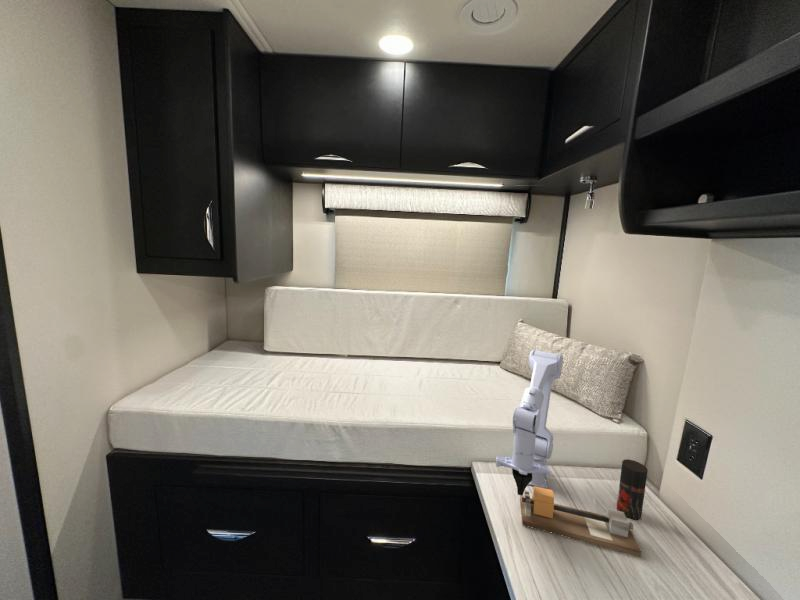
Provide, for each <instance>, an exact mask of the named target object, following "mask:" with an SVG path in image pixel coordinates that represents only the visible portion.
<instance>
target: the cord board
mask: <svg viewBox="0 0 800 600" xmlns="http://www.w3.org/2000/svg"><path fill="white" fill-rule="evenodd" d="M519 502H520V503H519V505H520V513H521V514H520V515H522V516H521V523H522V524H523V525H525V526H524V527H527V526H529V527H528V528H531V527H533V528H532V529H534V528H536V529H535V530H538V529H540V530H539V531H542V530H545V531H544V532H546V531H547V532H546V533H549V532H552V533H551V534H553V533H555V534H554V535H557V534H559V535H558V536H561V535H563V536H562V537H565V536H566V537H565V538H568V537H570V538H569V539H572V538H574V539H573V540H576V539H577V540H576V541H580V540H582V541H581V542H583V541H585V542H584V543H587V542H588V544H592V545H596V546H599V547H602V548H606V549H611V550H614V551H618V552H620V553H621V552H622V553H626V554H630V555H632V556H637V557H642V549H641V548H640V545H639V544H638V542H637V540H636V538H635V536H634V534H633V533H632V530H634V524H633V522H631V521H629V519H628V518H626V516H625V514H624V512H621V511H618V510H617V509H612V508H607V507H606V512H605V515H603V514H599V513H596V512H591V511H587V510H584V509H583V510H582V509H579V508H575V507H571V506H567V505H562V504H557V503H554V510H553V518H549V517H545V516H541V515H537V514H533V507H532V504H533V505H534V500H532V497H531V495H530V491H529V490H526V489H525V490H524V493H523V496H522V495H519ZM523 525H522V526H523Z"/></svg>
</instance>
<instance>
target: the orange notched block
mask: <svg viewBox="0 0 800 600" xmlns="http://www.w3.org/2000/svg"><path fill="white" fill-rule="evenodd" d="M532 490H533V491H532V497H531V498H532V500H534V505H533V504H532V507H533V514H537V515H541V516H545V517H549V518H553V510H554V504H555V495H554V491H553V489H549V488H542V487H537V486H533V489H532Z"/></svg>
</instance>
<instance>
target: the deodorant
mask: <svg viewBox="0 0 800 600" xmlns="http://www.w3.org/2000/svg"><path fill="white" fill-rule="evenodd" d="M648 471H649V469H648V468H647V466H646V465H644V464H643V463H641V462H638V461H636V460H633V459H629V458H628V459H623V460H622V462H621V469H620V478H619V485H618V494H617V502H616V510H617V511H621V512H624V514H625V516H626V518H627V519H628V520H632V521H640V520H642V514H643V506H644V501H645V500H644V499H645V491H646V485H647V484H646V483H647V479H648V478H647V477H648Z"/></svg>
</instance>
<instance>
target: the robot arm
mask: <svg viewBox="0 0 800 600" xmlns="http://www.w3.org/2000/svg"><path fill="white" fill-rule="evenodd" d="M563 364H564V356H563V355H562V354H561V353H554V352H548V351H542V350H538V349H537V350H536V349H534V348H533V349H531V351H530V352H529V357H528V365H529V367H530V370H531V378H530V379H531V380H530V384H529V386H528V387H526V388H525V389H524V390H523V394H522V397H521V399H520V403H519V405H518V407H517V408H515V409H514V412H513V415H512V432H513V434H514V436H513V447H512V457H511V456H510V457H509V456H504V457H503V456H496V457H495V458H496V460H495V467H499V468H500V466H501V467H504V468H509V469H511V470H512V476H513V479H514V481H515V484H516V489H517V495H518V496H520V495H521V496H524V494H525V490H526V488H527V487H528V485H529V486H533V487H534V486H536V487H540V488H545V489H548V484H547V480H546V478H548V479H550V478H551V470H550V469H551V468H550V467H549V466H547V460H550V459H551V458H552V454H553V449H554V435H553V434H552V432H551V431H550V430H549V429H548V428H547V422H548V415H549V408H550V398H551V393H552V388H553V387H552V386H553V383H554V381H555V380H558V379H560V378H561V376H562V371H563V370H562V369H563Z"/></svg>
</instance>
